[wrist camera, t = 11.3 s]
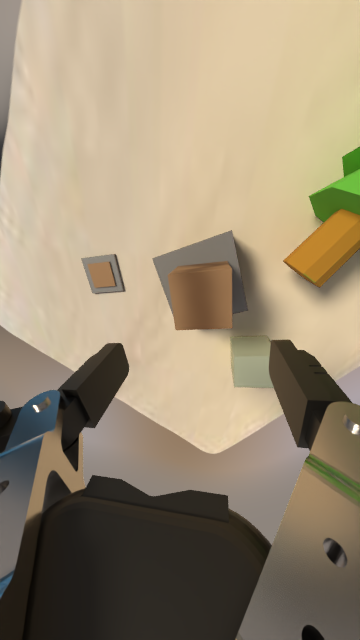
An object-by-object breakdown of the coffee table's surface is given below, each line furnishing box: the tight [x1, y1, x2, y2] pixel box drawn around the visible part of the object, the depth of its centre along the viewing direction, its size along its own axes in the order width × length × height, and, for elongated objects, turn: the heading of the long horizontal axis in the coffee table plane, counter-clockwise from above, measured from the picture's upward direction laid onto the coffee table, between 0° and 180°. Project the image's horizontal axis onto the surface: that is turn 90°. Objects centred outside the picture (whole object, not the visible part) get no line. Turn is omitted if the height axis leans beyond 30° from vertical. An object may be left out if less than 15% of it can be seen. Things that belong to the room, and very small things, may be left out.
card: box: [81, 254, 124, 293], centre depth 31 cm, size 6×6×1 cm
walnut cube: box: [168, 261, 232, 330], centre depth 21 cm, size 6×6×6 cm
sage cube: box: [230, 336, 274, 388], centre depth 30 cm, size 6×6×6 cm
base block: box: [153, 230, 248, 316], centre depth 26 cm, size 10×10×6 cm
